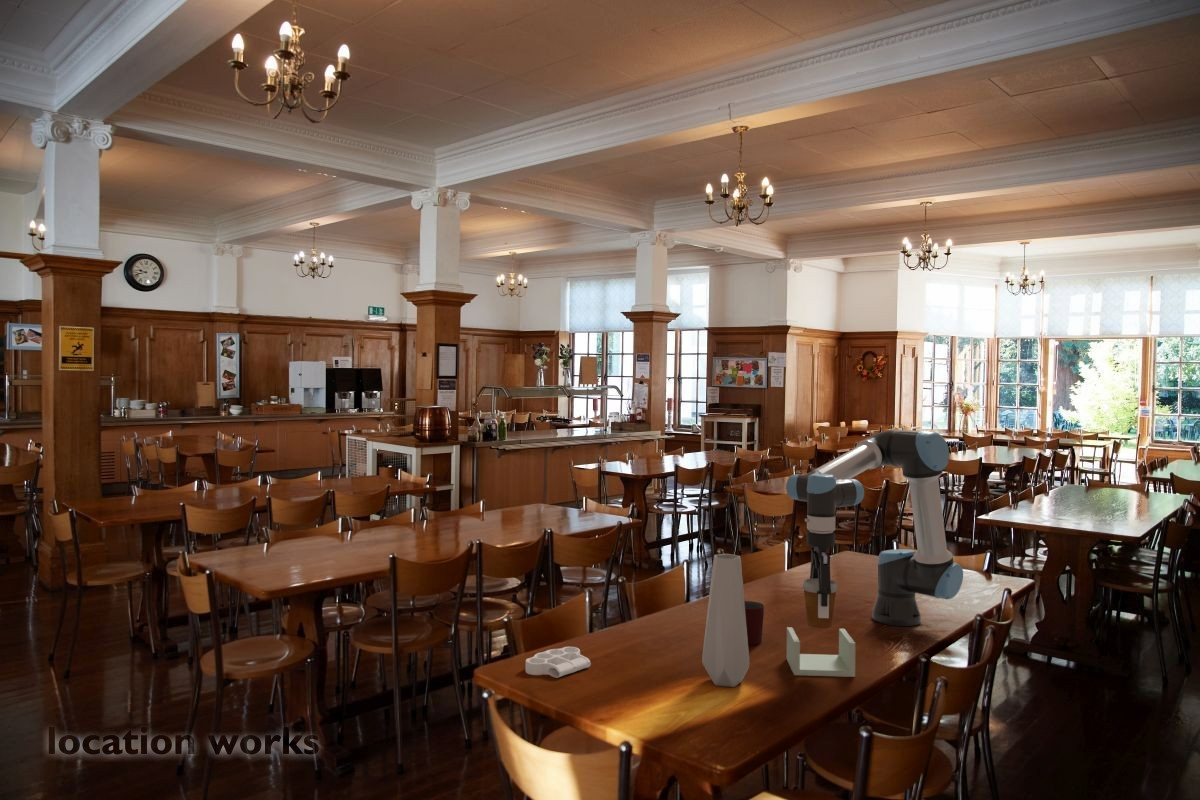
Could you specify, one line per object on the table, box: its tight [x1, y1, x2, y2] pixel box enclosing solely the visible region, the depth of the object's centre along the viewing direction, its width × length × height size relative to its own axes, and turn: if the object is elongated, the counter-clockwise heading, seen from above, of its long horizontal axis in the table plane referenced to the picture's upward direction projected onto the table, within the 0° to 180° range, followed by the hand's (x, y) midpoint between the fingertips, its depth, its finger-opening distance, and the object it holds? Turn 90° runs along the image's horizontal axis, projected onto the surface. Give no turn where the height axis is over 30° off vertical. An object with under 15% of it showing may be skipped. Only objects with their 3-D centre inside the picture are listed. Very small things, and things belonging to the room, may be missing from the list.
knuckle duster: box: [525, 646, 592, 679], centre depth 224 cm, size 3×18×15 cm
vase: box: [701, 553, 750, 688], centre depth 213 cm, size 12×12×33 cm
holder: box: [786, 626, 856, 678], centre depth 224 cm, size 16×13×9 cm
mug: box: [744, 600, 765, 646], centre depth 246 cm, size 12×9×11 cm
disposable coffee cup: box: [801, 577, 839, 629], centre depth 224 cm, size 10×10×12 cm
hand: (819, 612), depth 224 cm, fingers closed on disposable coffee cup, 9 cm apart
